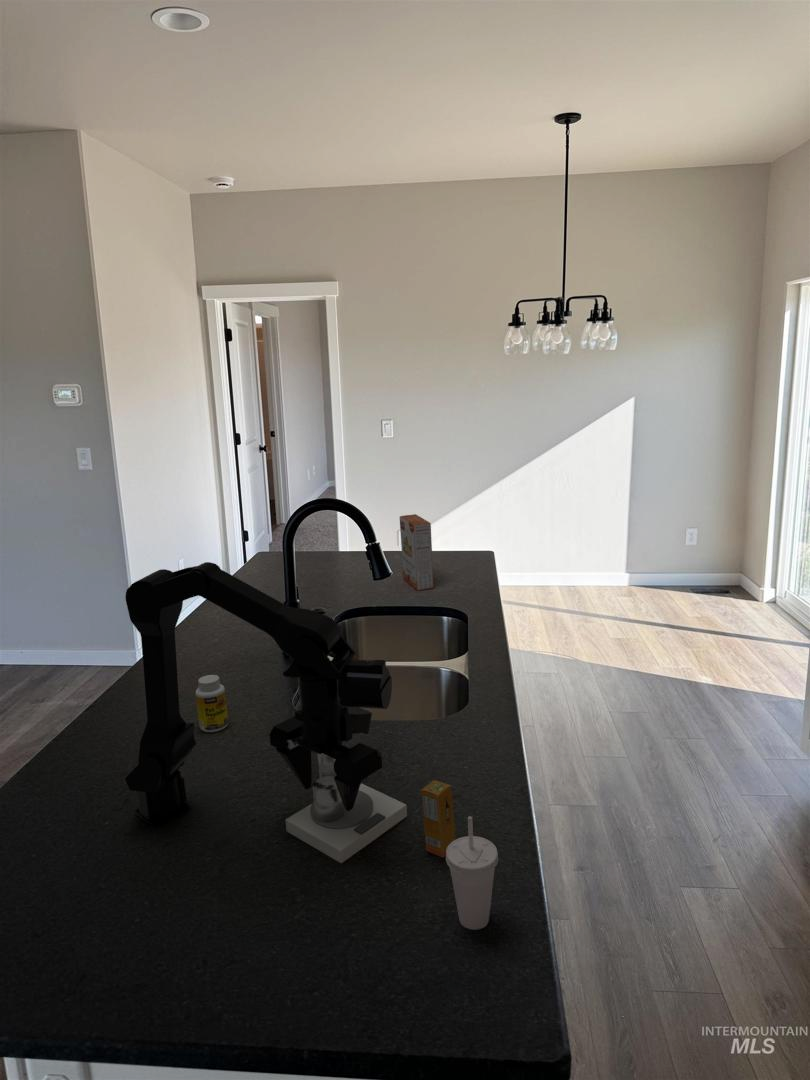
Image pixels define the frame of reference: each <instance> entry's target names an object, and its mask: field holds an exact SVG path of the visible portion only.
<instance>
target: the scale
mask: <svg viewBox="0 0 810 1080" xmlns="http://www.w3.org/2000/svg"><path fill="white" fill-rule="evenodd" d="M407 807H408V806H407V804H405V803H403V802H402V801H399V800H397V799H395V798H393V797H391V796H390V795H387V794H385V793H383V792H381V791H378V790H377V789H374V788H372V787H370V786H367V785H366V784H364V783H361V785H360V788H359V791H358V794H357V797H356V800H355V803H354V806H353V809H351V810H350V811H346V809H345V807H344V816H343V817H342V818H341V819H340V820H338V821H335V822H331V823H324V822H320V821H318V820H317V819H316V817H315V808H314V801H313V802H312V803H310V804H309V805H307V806H306V807H304V808H302V809H301V810H299V811H297V812H295V813H294V814H292V815H290V816H289V817H287V818H286V819H285V831H286V832H287V833H289V834H290V835H292V836H294V837H295V838H297V839H298V840H300V841H302V842H304V843H306V844H307V845H310V846H311V847H313V849H316V850H318V851H319V852H321V853H323V854H324V855H326V856H328V857H329V858H331V859H333V860H334V861H336V862H338V863H340V864H343V863H345V861H347V860H348V859H350V858H351V857H353V856H354V855H355V854H357V852H359V851H361V850H362V849H364V848H365V847H366V846H367V845H370V843H372V842H374V841H375V840H376V839H377V838H379V837H380V836H382V835H383V834H385V832H387V831H389V830H390V829H392V828H393V827H394V826H396V825H397V824H399V822H401V821H403V820H405V818H407V817H408V809H407Z"/></svg>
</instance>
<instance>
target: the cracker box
mask: <svg viewBox="0 0 810 1080" xmlns="http://www.w3.org/2000/svg"><path fill="white" fill-rule="evenodd" d="M399 530H400V545H401V558H402V577H403V580H405V582H407V583H408V584H409V585H410V586H411V587H413V588H414V589H415V590H416V591H417V590H419V591H423V590H430V589H434V588H435V584H434V583H435V581H434V566H433V565H434V563H433V545H432V543H433V542H432V541H433V540H432V525H431V522H429V521H428V520H427V519H424V518H422V516H419V515H418V514H415V513H414V514H406V515H400V516H399Z"/></svg>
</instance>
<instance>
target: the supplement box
mask: <svg viewBox="0 0 810 1080" xmlns="http://www.w3.org/2000/svg"><path fill="white" fill-rule="evenodd" d="M420 792H421V793H420V794H421V806H422V816H423V817H422V818H423V827H424V829H423V831H424V839H425V849H426V850H425V851H426V852H428V853H431V854H433V855H435V856H437V857H440V858H442V859H444V858H446V850H447V847H448V846H449V844H450V843H452V842H453V841H454V840H456V839H457V838H456V829H455V828H456V825H455V814H454V800H453V788H452V785H451V784H447V783H444V782H441V781H439V780H435V779H434V780H432V781H431V782H429V783H428V784H427V785H425V786H424V787H423V788H422V789H420Z"/></svg>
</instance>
